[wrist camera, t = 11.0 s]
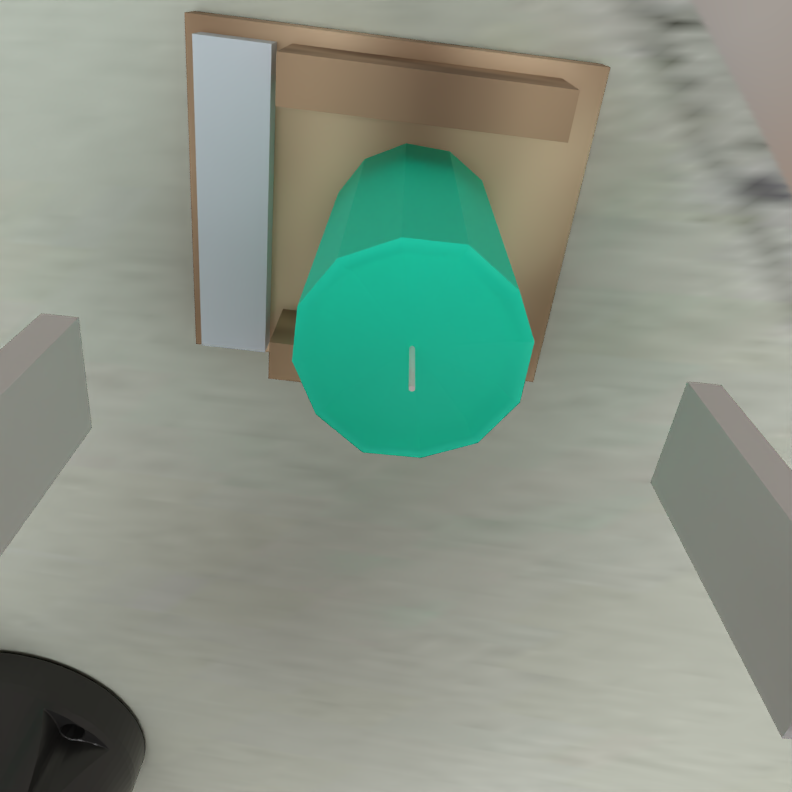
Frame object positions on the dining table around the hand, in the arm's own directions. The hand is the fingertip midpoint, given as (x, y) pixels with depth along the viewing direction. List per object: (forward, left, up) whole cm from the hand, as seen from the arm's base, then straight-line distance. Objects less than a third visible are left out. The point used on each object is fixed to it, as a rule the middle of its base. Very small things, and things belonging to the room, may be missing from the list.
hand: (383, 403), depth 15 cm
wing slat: (-6, 0, -12) cm, 14 cm away
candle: (+1, 0, -13) cm, 13 cm away
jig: (-1, 0, -14) cm, 14 cm away
